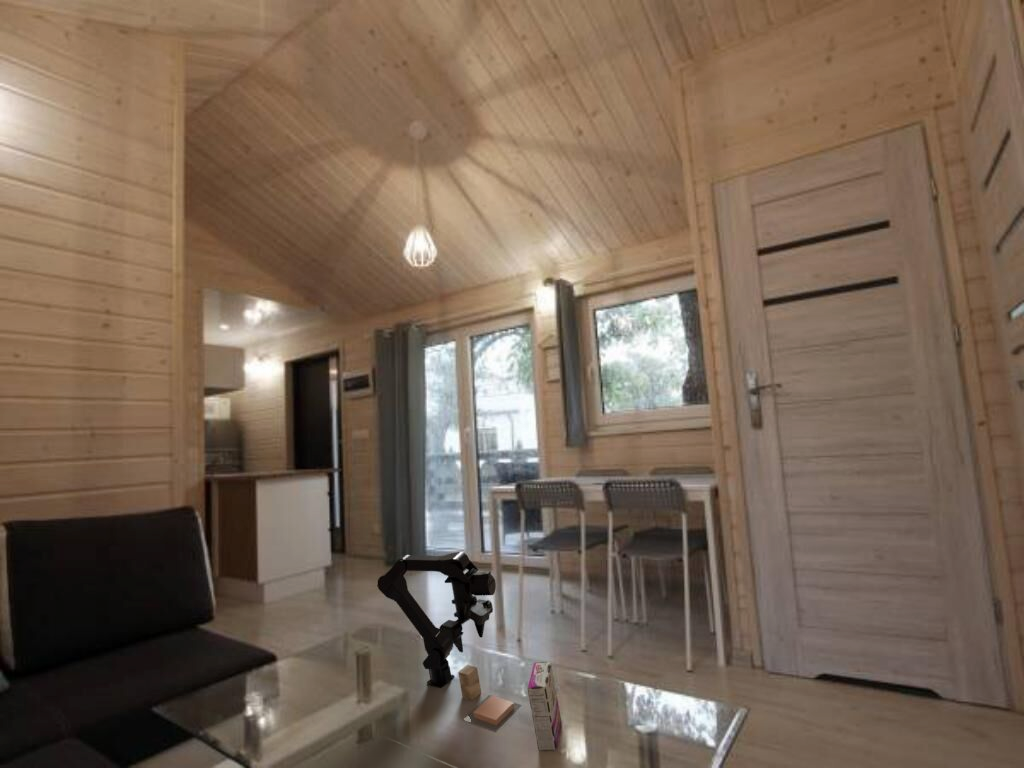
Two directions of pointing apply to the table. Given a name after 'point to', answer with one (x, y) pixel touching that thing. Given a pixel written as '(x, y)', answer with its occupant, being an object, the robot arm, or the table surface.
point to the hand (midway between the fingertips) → (471, 644)
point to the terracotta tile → (494, 710)
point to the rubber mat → (488, 725)
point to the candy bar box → (544, 706)
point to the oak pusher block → (469, 682)
